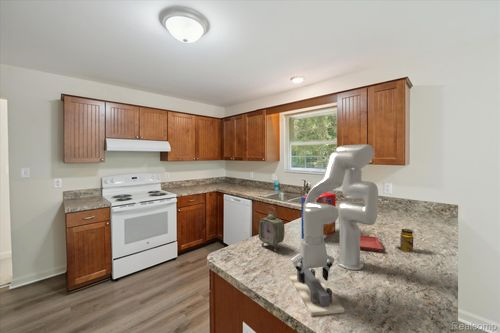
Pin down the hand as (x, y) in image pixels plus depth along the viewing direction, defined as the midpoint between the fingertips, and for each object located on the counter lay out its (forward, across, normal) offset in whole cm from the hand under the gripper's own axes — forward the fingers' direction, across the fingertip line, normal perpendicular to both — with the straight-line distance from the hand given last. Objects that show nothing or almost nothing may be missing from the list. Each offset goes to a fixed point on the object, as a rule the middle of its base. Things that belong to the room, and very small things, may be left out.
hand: (313, 280), depth 86 cm
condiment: (+6, -68, -29) cm, 75 cm away
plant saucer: (+7, -50, -39) cm, 63 cm away
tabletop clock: (+6, +6, -45) cm, 46 cm away
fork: (+6, -8, -34) cm, 35 cm away
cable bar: (+4, 0, 0) cm, 4 cm away
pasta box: (+6, -30, -59) cm, 66 cm away
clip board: (+5, 0, 0) cm, 5 cm away
